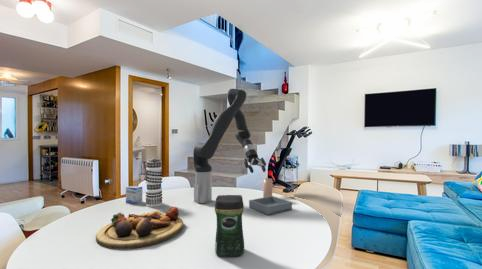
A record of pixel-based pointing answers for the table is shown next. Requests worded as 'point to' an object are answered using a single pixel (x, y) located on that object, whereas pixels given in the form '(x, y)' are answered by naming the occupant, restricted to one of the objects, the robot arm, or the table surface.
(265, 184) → the cup
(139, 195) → the medicine box
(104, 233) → the wooden plate with food
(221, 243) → the coffee jar
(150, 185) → the model tower building
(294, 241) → the table surface
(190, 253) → the table surface
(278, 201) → the tray
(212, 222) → the table surface
